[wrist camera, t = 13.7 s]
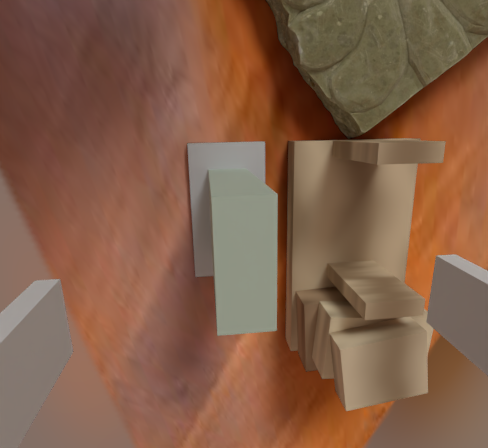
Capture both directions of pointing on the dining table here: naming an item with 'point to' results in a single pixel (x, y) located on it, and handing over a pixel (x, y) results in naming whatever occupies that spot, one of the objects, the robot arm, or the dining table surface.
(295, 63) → the decorative tile
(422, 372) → the offcut top
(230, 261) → the pale green block
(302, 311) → the offcut bottom
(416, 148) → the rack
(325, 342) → the block
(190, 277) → the dining table surface
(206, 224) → the felt mat
